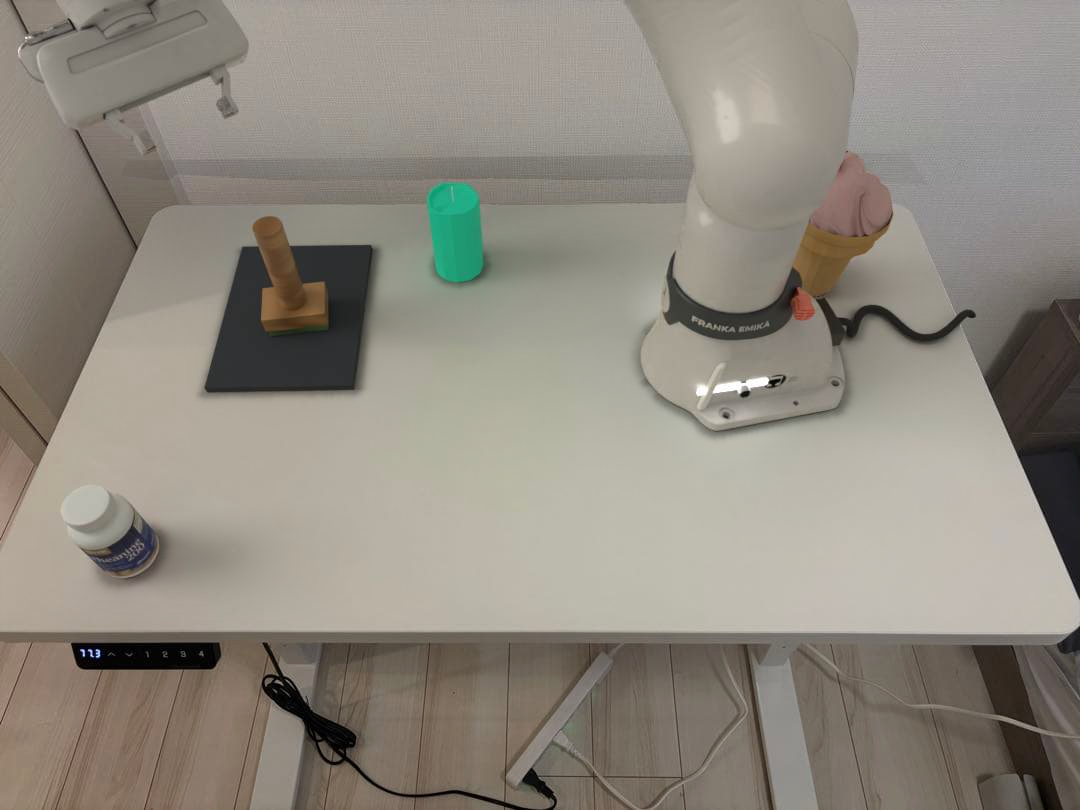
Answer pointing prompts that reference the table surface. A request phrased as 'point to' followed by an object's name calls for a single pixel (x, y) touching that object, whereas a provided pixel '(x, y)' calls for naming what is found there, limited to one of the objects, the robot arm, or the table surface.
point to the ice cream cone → (843, 225)
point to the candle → (456, 231)
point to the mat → (301, 357)
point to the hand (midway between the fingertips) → (191, 133)
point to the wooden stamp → (287, 286)
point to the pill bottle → (109, 531)
